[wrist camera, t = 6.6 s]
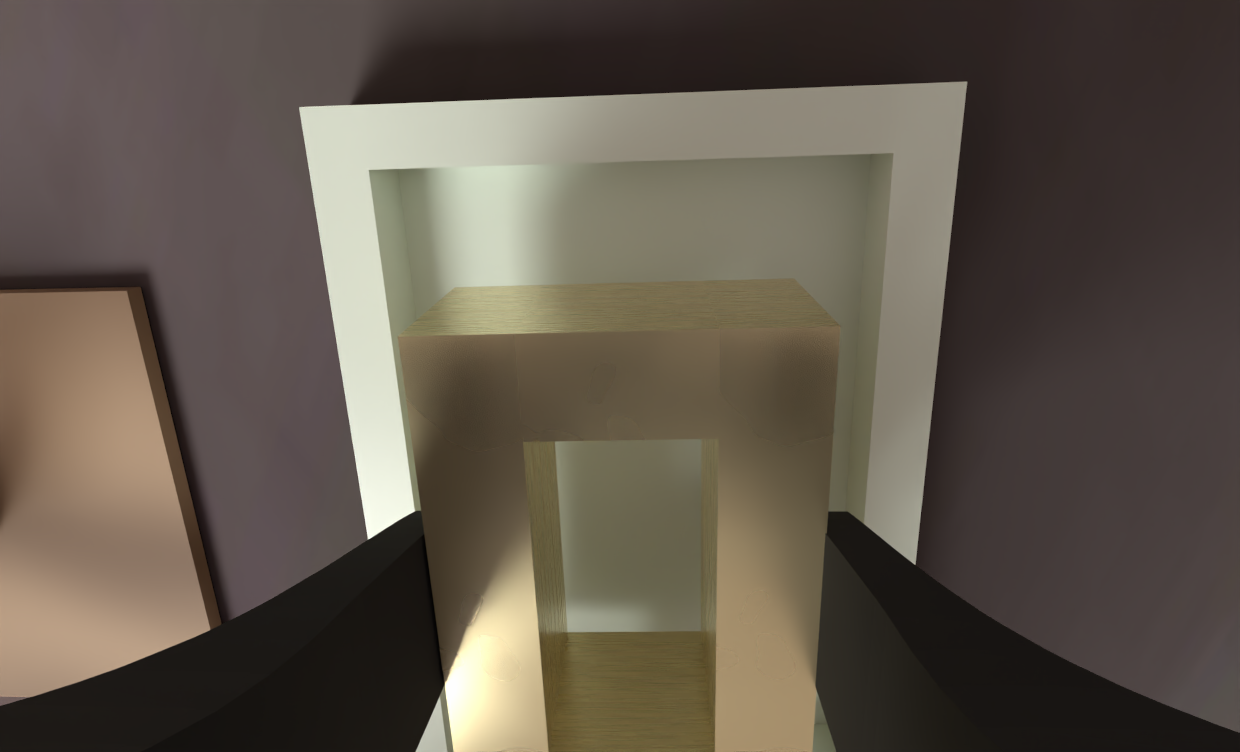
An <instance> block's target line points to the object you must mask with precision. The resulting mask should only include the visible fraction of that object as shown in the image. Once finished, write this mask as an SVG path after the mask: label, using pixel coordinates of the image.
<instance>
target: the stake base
mask: <svg viewBox="0 0 1240 752" xmlns="http://www.w3.org/2000/svg"><path fill="white" fill-rule="evenodd" d="M221 624H222V623H221V619H220V615H219V611H218V607H217V603H216V598H215V594H214V590H213V586H212V582H211V578H210V574H209V569H208V565H207V561H206V557H205V553H204V549H203V544H202V540H201V536H200V532H199V528H198V524H197V519H196V515H195V511H194V507H193V503H192V499H191V495H190V490H189V486H188V482H187V478H186V474H185V470H184V465H183V461H182V457H181V453H180V449H179V445H178V441H177V436H176V432H175V428H174V424H173V420H172V416H171V411H170V407H169V403H168V399H167V395H166V391H165V386H164V382H163V378H162V374H161V370H160V366H159V362H158V357H157V353H156V349H155V345H154V341H153V337H152V332H151V328H150V324H149V320H148V316H147V312H146V308H145V303H144V299H143V295H142V291H141V287H108V288H60V289H11V290H0V697H33V696H36V695H39V694H42V693H46V692H49V691H52V690H55V689H58V688H61V687H64V686H67V685H71V684H74V683H77V682H80V681H83V680H85V679H88V678H91V677H94V676H97V675H100V674H103V673H106V672H108V671H111V670H114V669H117V668H119V667H122V666H125V665H127V664H130V663H132V662H135V661H137V660H140V659H142V658H145V657H147V656H149V655H152V654H154V653H157V652H159V651H162V650H164V649H167V648H169V647H172V646H174V645H177V644H179V643H181V642H184V641H186V640H189V639H191V638H194V637H196V636H198V635H200V634H202V633H205V632H207V631H209V630H211V629H213V628H215V627H217V626H219V625H221Z"/></svg>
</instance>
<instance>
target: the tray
mask: <svg viewBox="0 0 1240 752" xmlns="http://www.w3.org/2000/svg"><path fill="white" fill-rule="evenodd" d="M966 89H967V82H944V83H918V84H892V85H866V86H840V87H814V88H788V89H761V90H735V91H709V92H683V93H657V94H631V95H605V96H579V97H553V98H527V99H501V100H474V101H448V102H422V103H396V104H370V105H344V106H318V107H299V109H300V115H301V121H302V128H303V134H304V140H305V146H306V153H307V159H308V165H309V172H310V178H311V184H312V190H313V197H314V203H315V209H316V215H317V222H318V228H319V234H320V240H321V247H322V253H323V259H324V266H325V272H326V278H327V284H328V291H329V297H330V303H331V309H332V316H333V322H334V328H335V334H336V341H337V347H338V353H339V360H340V366H341V372H342V378H343V385H344V391H345V397H346V403H347V410H348V416H349V422H350V428H351V435H352V441H353V447H354V454H355V460H356V466H357V472H358V479H359V485H360V491H361V497H362V504H363V510H364V516H365V522H366V529H367V535H368V540H369V539H370V538H372V537H373V536H375V535H376V534H378V533H379V532H381V531H383V530H384V529H386V528H387V527H389V526H390V525H392V524H394V523H395V522H397V521H398V520H400V519H402V518H403V517H405V516H407V515H409V514H411V513H413V512H415V511H421V506H420V499H419V491H418V484H417V476H416V469H415V462H414V454H413V447H412V439H411V432H410V425H409V417H408V410H407V403H406V395H405V388H404V380H403V373H402V366H401V358H400V351H399V343H398V336H399V335H400V334H401V333H402V332H403V331H405V330H406V329H407V328H408V327H409V326H410V325H411V324H413V323H414V322H415V321H416V320H417V319H418V318H420V317H421V316H422V315H423V314H424V313H425V312H427V311H428V310H429V309H430V308H431V307H432V306H433V305H435V304H436V303H437V302H438V301H439V300H440V299H442V298H443V297H444V296H445V295H446V294H447V293H449V292H450V291H451V290H452V289H453V288H454V287H483V286H521V285H559V284H597V283H636V282H674V281H712V280H751V279H789V278H794V279H795V280H796V281H797V282H798V283H799V284H800V285H801V286H802V287H803V288H804V289H805V290H806V291H807V292H808V293H809V294H810V295H811V296H812V297H813V298H814V299H815V300H816V301H817V302H818V303H819V304H820V305H821V306H822V308H823V309H824V310H825V311H826V312H827V313H828V314H829V315H830V316H831V317H832V318H833V319H834V320H835V321H836V322H837V323H838V324H839V325H840V326H841V328H840V343H839V358H838V373H837V388H836V403H835V418H834V433H833V448H832V463H831V479H830V494H829V509H828V511H848V512H849V513H850V514H852V515H853V516H855V517H856V518H857V519H858V520H860V521H861V522H862V523H863V524H865V525H866V526H867V527H868V528H870V529H871V530H872V531H873V532H875V533H876V534H877V535H878V536H879V537H881V538H882V539H883V540H884V541H886V542H887V543H888V544H889V545H891V546H892V547H893V548H894V549H895V550H897V551H898V552H899V553H900V554H902V555H903V556H904V557H906V558H907V559H908V560H909V561H911V562H912V563H913V564H916V555H917V545H918V536H919V527H920V517H921V508H922V499H923V489H924V480H925V471H926V461H927V452H928V443H929V434H930V424H931V415H932V406H933V396H934V387H935V378H936V368H937V359H938V350H939V340H940V331H941V322H942V312H943V303H944V294H945V284H946V275H947V266H948V256H949V247H950V238H951V228H952V219H953V210H954V200H955V191H956V182H957V172H958V163H959V154H960V145H961V135H962V126H963V117H964V107H965V98H966ZM555 451H556V466H557V481H558V496H559V511H560V526H561V541H562V556H563V571H564V586H565V601H566V616H567V631H568V632H665V631H701V439H670V440H614V441H557V442H555ZM416 752H454V750H453V742H452V735H451V727H450V720H449V713H448V705H447V698H446V690H445V685H444V687H443V690H442V692H441V694H440V697H439V699H438V701H437V704H436V706H435V708H434V711H433V713H432V715H431V718H430V720H429V722H428V725H427V727H426V729H425V731H424V734H423V736H422V738H421V741H420V743H419V745H418V748H417V750H416ZM812 752H836V749H835V746H834V743H833V740H832V737H831V734H830V731H829V728H828V725H827V721H826V718H825V715H824V712H823V709H822V706H821V703H820V699H819V696H818V693H817V690H816V705H815V720H814V735H813V750H812Z"/></svg>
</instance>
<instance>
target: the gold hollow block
mask: <svg viewBox="0 0 1240 752" xmlns="http://www.w3.org/2000/svg"><path fill="white" fill-rule="evenodd" d="M840 328H841V326H840V325H839V324H838V323H837V322H836V321H835V320H834V319H833V318H832V317H831V316H830V315H829V314H828V313H827V312H826V311H825V310H824V309H823V308H822V306H821V305H820V304H819V303H818V302H817V301H816V300H815V299H814V298H813V297H812V296H811V295H810V294H809V293H808V292H807V291H806V290H805V289H804V288H803V287H802V286H801V285H800V284H799V283H798V282H797V281H796V280H795V279H794V278H789V279H751V280H712V281H674V282H636V283H597V284H559V285H521V286H483V287H454V288H453V289H452V290H451V291H450V292H449V293H447V294H446V295H445V296H444V297H443V298H442V299H440V300H439V301H438V302H437V303H436V304H435V305H433V306H432V307H431V308H430V309H429V310H428V311H427V312H425V313H424V314H423V315H422V316H421V317H420V318H418V319H417V320H416V321H415V322H414V323H413V324H411V325H410V326H409V327H408V328H407V329H406V330H405V331H403V332H402V333H401V334H400V335H399V336H398V343H399V351H400V358H401V366H402V373H403V380H404V388H405V395H406V403H407V410H408V417H409V425H410V432H411V439H412V447H413V454H414V462H415V469H416V476H417V484H418V491H419V499H420V506H421V513H422V521H423V528H424V535H425V543H426V550H427V558H428V565H429V572H430V580H431V587H432V595H433V602H434V609H435V617H436V624H437V631H438V639H439V646H440V654H441V661H442V668H443V676H444V683H445V690H446V698H447V705H448V713H449V720H450V727H451V735H452V742H453V750H454V752H812V750H813V735H814V720H815V705H816V687H815V685H816V669H817V654H818V639H819V624H820V608H821V593H822V578H823V563H824V547H825V533H827V524H828V509H829V494H830V479H831V463H832V448H833V433H834V418H835V403H836V388H837V373H838V358H839V343H840ZM670 439H701V631H665V632H568V631H567V616H566V601H565V586H564V571H563V556H562V541H561V526H560V511H559V496H558V481H557V466H556V451H555V442H557V441H614V440H670Z"/></svg>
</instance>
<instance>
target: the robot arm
mask: <svg viewBox="0 0 1240 752" xmlns="http://www.w3.org/2000/svg"><path fill="white" fill-rule="evenodd" d="M444 685H445V683H444V676H443V668H442V661H441V654H440V646H439V639H438V631H437V624H436V617H435V609H434V602H433V595H432V587H431V580H430V572H429V565H428V558H427V550H426V543H425V535H424V528H423V521H422V513H421V511H415V512H413V513H411V514H409V515H407V516H405V517H403V518H402V519H400V520H398V521H397V522H395V523H394V524H392V525H390V526H389V527H387V528H386V529H384V530H383V531H381V532H379V533H378V534H376V535H375V536H373V537H372V538H370V539H369V540H367V541H366V542H364V543H362V544H361V545H359V546H358V547H356V548H355V549H353V550H352V551H350V552H348V553H347V554H345V555H344V556H342V557H341V558H339V559H338V560H336V561H334V562H333V563H331V564H330V565H328V566H327V567H325V568H323V569H322V570H320V571H318V572H317V573H315V574H313V575H311V576H310V577H308V578H306V579H305V580H303V581H301V582H300V583H298V584H296V585H294V586H293V587H291V588H289V589H288V590H286V591H284V592H283V593H281V594H279V595H277V596H276V597H274V598H272V599H271V600H269V601H267V602H265V603H263V604H261V605H259V606H258V607H256V608H254V609H252V610H250V611H248V612H246V613H244V614H242V615H240V616H238V617H236V618H234V619H232V620H230V621H228V622H226V623H224V624H221V625H219V626H217V627H215V628H213V629H211V630H209V631H207V632H205V633H202V634H200V635H198V636H196V637H194V638H191V639H189V640H186V641H184V642H181V643H179V644H177V645H174V646H172V647H169V648H167V649H164V650H162V651H159V652H157V653H154V654H152V655H149V656H147V657H145V658H142V659H140V660H137V661H135V662H132V663H130V664H127V665H125V666H122V667H119V668H117V669H114V670H111V671H108V672H106V673H103V674H100V675H97V676H94V677H91V678H88V679H85V680H83V681H80V682H77V683H74V684H71V685H67V686H64V687H61V688H58V689H55V690H52V691H49V692H46V693H42V694H39V695H36V696H33V697H30V698H26V699H23V700H19V701H16V702H13V703H9V704H6V705H2V706H0V752H416V750H417V748H418V745H419V743H420V741H421V738H422V736H423V734H424V731H425V729H426V727H427V725H428V722H429V720H430V718H431V715H432V713H433V711H434V708H435V706H436V704H437V701H438V699H439V697H440V694H441V692H442V690H443V687H444ZM815 687H816V690H817V693H818V696H819V699H820V703H821V706H822V709H823V712H824V715H825V718H826V721H827V725H828V728H829V731H830V734H831V737H832V740H833V743H834V746H835V749H836V752H1240V733H1238V732H1235V731H1232V730H1230V729H1227V728H1224V727H1221V726H1219V725H1216V724H1213V723H1211V722H1208V721H1206V720H1203V719H1200V718H1198V717H1195V716H1193V715H1190V714H1188V713H1185V712H1182V711H1180V710H1177V709H1175V708H1172V707H1169V706H1167V705H1164V704H1162V703H1159V702H1157V701H1155V700H1152V699H1150V698H1148V697H1145V696H1143V695H1141V694H1138V693H1136V692H1133V691H1131V690H1129V689H1126V688H1124V687H1122V686H1120V685H1117V684H1115V683H1113V682H1111V681H1109V680H1107V679H1105V678H1103V677H1101V676H1098V675H1096V674H1094V673H1092V672H1090V671H1088V670H1086V669H1084V668H1082V667H1079V666H1077V665H1075V664H1073V663H1071V662H1069V661H1067V660H1065V659H1063V658H1061V657H1059V656H1057V655H1055V654H1053V653H1052V652H1050V651H1048V650H1046V649H1044V648H1042V647H1040V646H1039V645H1037V644H1035V643H1033V642H1032V641H1030V640H1028V639H1026V638H1025V637H1023V636H1021V635H1019V634H1017V633H1016V632H1014V631H1012V630H1010V629H1009V628H1007V627H1005V626H1003V625H1002V624H1000V623H998V622H997V621H995V620H994V619H992V618H990V617H989V616H987V615H986V614H984V613H982V612H981V611H979V610H978V609H976V608H975V607H973V606H972V605H970V604H969V603H967V602H966V601H965V600H963V599H962V598H960V597H959V596H957V595H956V594H954V593H953V592H951V591H950V590H948V589H947V588H946V587H944V586H943V585H941V584H940V583H939V582H937V581H936V580H934V579H933V578H932V577H930V576H929V575H928V574H926V573H925V572H924V571H922V570H921V569H920V568H918V567H917V566H916V565H915V564H913V563H912V562H911V561H909V560H908V559H907V558H906V557H904V556H903V555H902V554H900V553H899V552H898V551H897V550H895V549H894V548H893V547H892V546H891V545H889V544H888V543H887V542H886V541H884V540H883V539H882V538H881V537H879V536H878V535H877V534H876V533H875V532H873V531H872V530H871V529H870V528H868V527H867V526H866V525H865V524H863V523H862V522H861V521H860V520H858V519H857V518H856V517H855V516H853V515H852V514H850V513H849V512H848V511H828V524H827V533H825V547H824V563H823V578H822V593H821V608H820V624H819V639H818V654H817V669H816V685H815Z"/></svg>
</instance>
